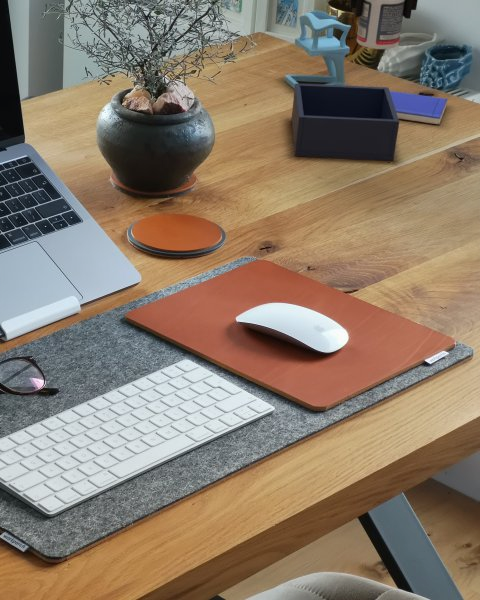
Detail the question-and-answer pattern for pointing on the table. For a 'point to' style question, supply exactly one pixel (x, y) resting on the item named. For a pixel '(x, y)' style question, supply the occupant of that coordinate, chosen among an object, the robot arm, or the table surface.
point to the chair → (322, 48)
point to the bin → (344, 122)
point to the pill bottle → (380, 23)
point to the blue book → (418, 107)
